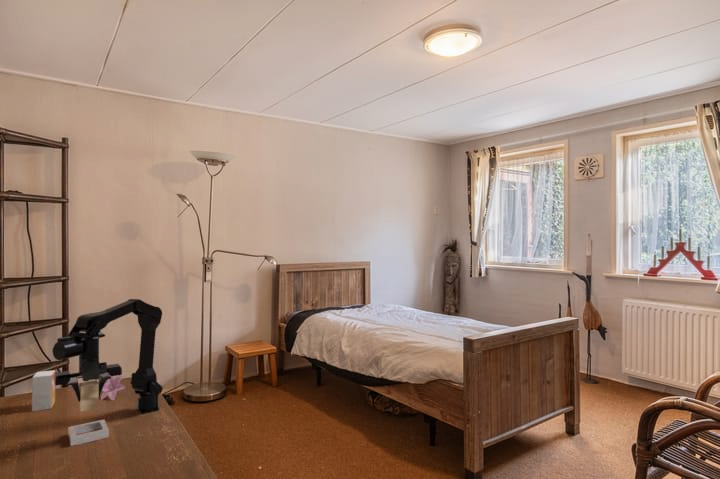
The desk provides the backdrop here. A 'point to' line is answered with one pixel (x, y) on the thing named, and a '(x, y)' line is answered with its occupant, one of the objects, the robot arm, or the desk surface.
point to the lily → (112, 387)
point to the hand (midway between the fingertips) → (88, 399)
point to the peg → (89, 395)
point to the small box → (43, 390)
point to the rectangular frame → (88, 436)
